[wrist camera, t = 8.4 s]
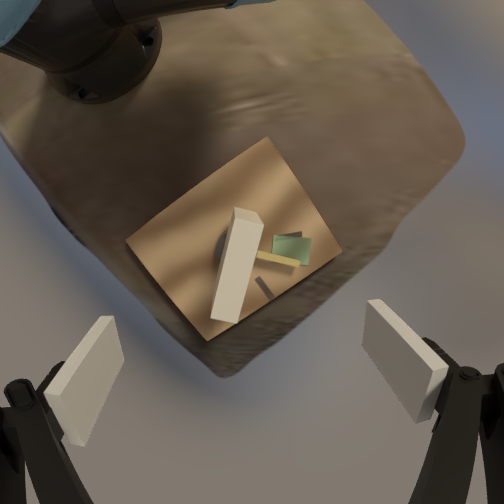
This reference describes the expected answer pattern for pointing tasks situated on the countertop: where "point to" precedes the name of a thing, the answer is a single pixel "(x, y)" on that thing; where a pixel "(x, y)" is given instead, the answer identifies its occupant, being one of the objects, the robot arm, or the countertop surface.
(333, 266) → the countertop surface
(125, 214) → the countertop surface
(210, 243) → the light wood flat board
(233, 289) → the cream piece
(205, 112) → the countertop surface
